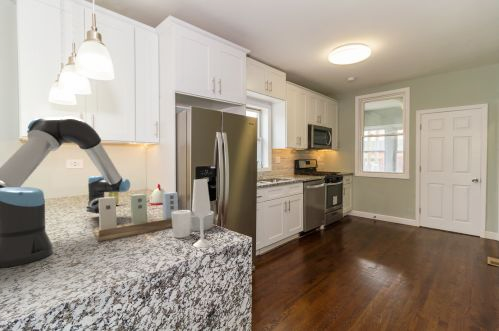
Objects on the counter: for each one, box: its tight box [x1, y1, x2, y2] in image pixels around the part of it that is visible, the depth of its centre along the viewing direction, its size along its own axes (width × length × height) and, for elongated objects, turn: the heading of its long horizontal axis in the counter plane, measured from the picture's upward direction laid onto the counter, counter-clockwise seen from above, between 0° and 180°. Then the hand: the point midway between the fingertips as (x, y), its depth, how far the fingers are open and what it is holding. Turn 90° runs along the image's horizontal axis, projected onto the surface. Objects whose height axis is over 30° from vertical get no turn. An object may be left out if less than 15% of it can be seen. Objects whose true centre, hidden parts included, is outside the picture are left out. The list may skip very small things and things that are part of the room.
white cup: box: [171, 209, 192, 239], centre depth 100 cm, size 8×8×10 cm
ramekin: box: [190, 210, 215, 232], centre depth 111 cm, size 13×13×7 cm
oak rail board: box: [92, 217, 173, 242], centre depth 112 cm, size 16×36×4 cm, turn 129°
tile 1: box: [98, 196, 118, 230], centre depth 105 cm, size 4×6×14 cm
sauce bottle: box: [108, 192, 120, 205], centre depth 175 cm, size 7×6×20 cm
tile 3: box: [162, 191, 179, 220], centre depth 117 cm, size 4×6×14 cm
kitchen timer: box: [148, 183, 167, 206], centre depth 180 cm, size 14×14×15 cm
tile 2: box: [130, 193, 148, 225], centre depth 114 cm, size 4×6×14 cm
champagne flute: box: [191, 178, 212, 248], centre depth 88 cm, size 7×7×24 cm
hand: (106, 212), depth 111 cm, fingers closed
